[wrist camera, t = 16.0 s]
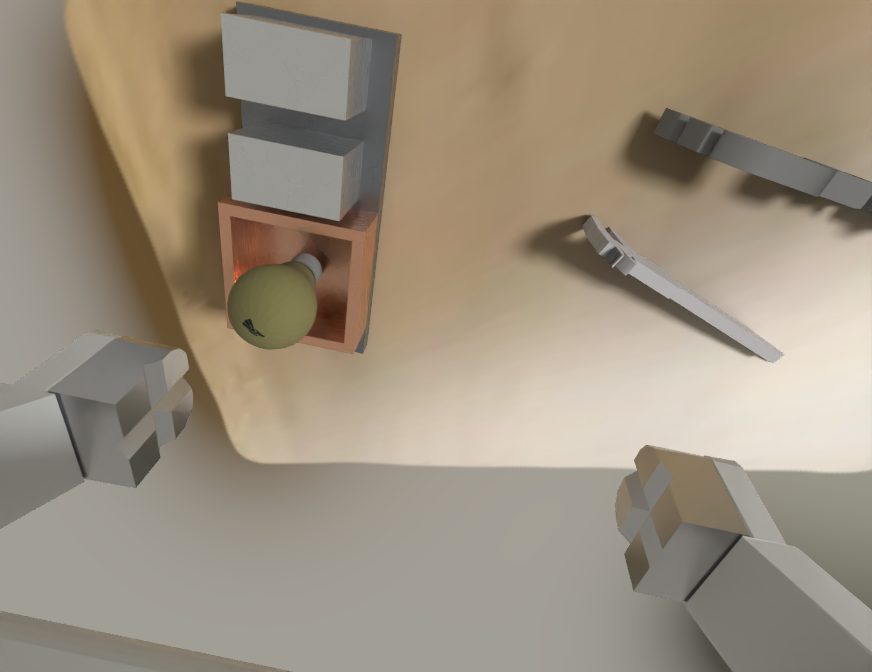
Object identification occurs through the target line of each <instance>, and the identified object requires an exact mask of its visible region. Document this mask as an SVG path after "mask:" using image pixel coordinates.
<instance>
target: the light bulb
mask: <svg viewBox="0 0 872 672" xmlns="http://www.w3.org/2000/svg"><path fill="white" fill-rule="evenodd" d="M321 274H322V267H321V264H320V262H319V261H318V260H317V259H316V258H315V257H314V256H312V255H310V254H307V253H301V254H298V255H296V256H295V257H294V258H293V259H292V260H291V261H290V262H285V263H282V264H264V265H260V266H257V267H254V268H252V269H250V270H248V271H246V272H245V273H244V274H242V275H241V276H240V277H239V278H238V279H237V280H236V282H235V283H234V285H233V286H232V288H231V291H230V293H229V296H228V302H227V311H228V317H229V320H230V323H231V325H232V327H233V328H234V330H235V331H236V332H237V334H238V335H239V336H240V337H241V338H242V339H244V340H245V341H246V342H248V343H250V344H252V345H254V346H256V347H259V348H263V349H281V348H286V347H288V346H291V345H293V344H295V343H297V342H298V341H300V340H301V339H302V338H303V337H304V336H305V335H306V334H307V333H308V332H309V331H310V329H311V327H312V325H313V323H314V321H315V317H316V312H317V300H316V294H315V284H316V282H317V280H318V279H319V277H320V276H321Z"/></svg>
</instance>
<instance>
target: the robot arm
mask: <svg viewBox="0 0 872 672" xmlns="http://www.w3.org/2000/svg"><path fill="white" fill-rule="evenodd" d="M188 369H189V366H188V361H187V355H186V353H185V352H184V351H182V350H181V349H179V348H175V347H170V346H166V345H162V344H157V343H153V342H149V341H144V340H140V339H136V338H131V337H127V336H120V335H116V334H111V333H107V332H103V331H98V330H97V331H90V332H86V333H85V334H84V335H82V336H80V337H79V338H78V339H76V340H75V341H73V342H72V343H71V344H69V345H68V346H66V347H65V348H63V349H62V350H61V351H59V352H58V353H56V354H55V355H53V356H52V357H51V358H49V359H48V360H46V361H45V362H44V363H42V364H41V365H39V366H38V367H36V368H35V369H34V370H32V371H31V372H29V373H28V374H26V375H25V376H24V377H22V378H21V379H20V380H18V381H17V382H15V383H14V384H12V385H9V384H4V383H0V529H1V528H3V527H4V526H6V525H8V524H10V523H11V522H13V521H15V520H17V519H18V518H20V517H22V516H24V515H26V514H27V513H29V512H31V511H33V510H35V509H36V508H38V507H40V506H42V505H44V504H45V503H47V502H49V501H50V500H52V499H54V498H56V497H58V496H59V495H61V494H63V493H65V492H67V491H69V490H70V489H72V488H74V487H76V486H77V485H79V484H81V483H83V482H84V479H88V480H94V481H100V482H106V483H111V484H116V485H122V486H127V487H133V488H136V487H137V486H138V485H139V484H140V482H141V481H142V480H143V479H144V477H145V476H146V475H147V474H148V473H149V471H150V470H151V469H152V468H153V467H154V465H155V464H156V463H157V462H158V460H159V459H160V448H159V447H160V446H162V445H164V444H166V443H168V442H170V441H173V440H175V439H176V438H177V437H178V435H179V434H180V433H181V432H182V430H183V429H184V428H185V426H186V424H187V421H188V419H189V416H190V414H191V411H192V404H193V395H192V388H191V387H190V386H189V385H188V383H187V382H186V381H185V380H184V379H183V377H182V376H183V375H184V374H185V372H186V371H187V370H188ZM634 461H635V465H636V468H637V471H636V472H634V473H632V474H630V475H628V476H626V477H625V478H624V479H623V481H622V483H621V485H620V487H619V489H618V492H617V498H616V504H615V512H616V520H617V525H618V530H619V531H620V533H621V534H622V535H623V536H624V537H625V538H626V540H627V541H628V542H629V543H630V545H629V547H628V548H627V550H626V552H625V553H624V555H625V559H626V563H627V567H628V571H629V575H630V579H631V582H632V587H633V591H635V592H639V593H643V594H648V595H652V596H656V597H660V598H665V599H669V600H673V601H677V602H682V603H686V604H685V605H684V606H685V608H686V609H687V610H688V612H689V613H690V614H691V615H692V617H693V619H694V620H695V621H696V623H697V624H698V625H699V627H700V628H701V629H702V631H703V632H704V633H705V635H706V636H707V637H708V639H709V640H710V642H711V643H712V644H713V646H714V647H715V648H716V650H717V651H718V652H719V654H720V655H721V656H722V658H723V659H724V661H725V662H726V663H727V665H728V666H729V667H730V669H731V670H732V671H733V672H872V610H870V609H869V608H868V607H867V606H866V605H864V604H863V603H862V602H861V601H860V600H859V599H857V598H856V597H855V596H854V595H852V594H851V593H850V592H849V591H848V590H847V589H846V588H844V587H843V586H842V585H841V584H840V583H838V582H837V581H836V580H835V579H834V578H833V577H831V576H830V575H829V574H828V573H826V572H825V571H824V570H823V569H822V568H821V567H820V566H818V565H817V564H816V563H815V562H814V561H812V560H811V559H810V558H809V557H808V556H807V555H805V554H804V553H803V552H802V551H801V550H799V549H798V548H797V547H794V546H790V545H786V543H785V541H784V539H783V538H782V536H781V534H780V533H779V531H778V529H777V527H776V526H775V524H774V522H773V520H772V518H771V517H770V515H769V514H768V511H767V510H766V508H765V506H764V504H763V503H762V501H761V499H760V497H759V496H758V494H757V492H756V490H755V489H754V487H753V485H752V483H751V482H750V480H749V478H748V476H747V475H746V473H745V471H744V469H743V468H742V467H741V466H740V465H739V464H738V463H736V462H735V461H731V460H726V459H720V458H715V457H709V456H700V455H696V454H691V453H686V452H681V451H676V450H671V449H666V448H661V447H656V446H650V445H646V446H644V447H643V448H642V449H641V450H640V451H639V453H638V454H637V456H636V458H635V459H634ZM0 672H291V671H286V670H281V669H276V668H272V667H267V666H262V665H257V664H253V663H248V662H243V661H238V660H233V659H229V658H224V657H219V656H214V655H210V654H205V653H200V652H195V651H190V650H185V649H181V648H176V647H171V646H166V645H161V644H157V643H152V642H147V641H142V640H138V639H133V638H128V637H123V636H119V635H113V634H109V633H104V632H99V631H94V630H90V629H85V628H80V627H75V626H71V625H66V624H61V623H56V622H51V621H46V620H42V619H37V618H32V617H28V616H23V615H17V614H13V613H8V612H4V611H0Z"/></svg>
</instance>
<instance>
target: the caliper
mask: <svg viewBox="0 0 872 672" xmlns="http://www.w3.org/2000/svg"><path fill="white" fill-rule="evenodd" d="M582 227H583V229H584V232H585V234H586V236H587V238H588V240H589V241H590V243H591V244H592V245H593V247H594V248H595V249H596V251H597V252H598V254H600V255H601V256H603V257H604V258H605V259H606V260H607V261H608V263H609V264H610V266H611V267H614V266H616V267H617V268H618V269H619V270H620V271H621V272H622V273H623V274H624V275H625V276H626V275H627V274H628V273H629V274H630V275H632V276H633V277H635V278H636V279H638V280H640V281H641V282H643V283H644V284H646V285H648V286H649V287H651V288H652V289H654V290H655V291H657V292H659V293H660V294H662V295H663V296H665V297H666V298H668V299H669V298H670V299H672V300H674V301H675V302H677V303H678V304H680V305H681V306H683V307H684V308H686V309H688V310H689V311H691V312H692V313H694V314H695V315H697V316H698V317H700V318H702V319H703V320H705V321H706V322H708V323H709V324H711V325H712V326H714V327H716V328H717V329H719V330H720V331H722V332H723V333H725V334H726V335H728V336H730V337H731V338H733V339H734V340H736V341H737V342H739V343H740V344H742V345H744V346H745V347H747V348H748V349H750V350H751V351H753V352H754V353H756V354H758V355H759V356H761V357H762V358H764V359H765V360H767V361H768V362H770V361H771V362H773V363H774V362H776V361H777V360H778V359H780V358H781V357H782V356H784V354H783V353H782V352H780V351H779V350H777V349H776V348H774V347H773V346H772V345H771V344H770V343H768V342H767V341H765V340H764V339H763V338H761V337H760V336H758V335H757V334H756V333H754V332H753V331H751V330H750V329H748V328H747V327H745V326H744V325H742V324H741V323H739V322H738V321H736V320H735V319H733V318H731V317H730V316H728V315H727V314H725V313H724V312H722V311H721V310H719V309H718V308H716V307H715V306H713V305H712V304H710V303H709V302H707V301H706V300H704V299H703V298H701V297H700V296H698V295H697V294H696V293H694V292H693V291H691V290H690V289H688V288H687V287H685V286H684V285H682V284H681V283H679V282H678V281H676V280H675V279H673V278H672V277H670V276H669V275H668V274H667V273H666V272H665V271H664V270H663V269H662V268H660V267H658V266H657V265H655V264H654V263H652V262H651V261H650V260H648V259H646V258H644V257H643V256H640V255H639V254H637V253H636V252H634V251H633V249H632V248H631V247H630V246H629V245H628V244H627V243H626V242H625V241H624V240H623V239H622V238H621V237H620V236H619V235H618V234H617V233H616V232H615V231H614V230H613V229H611V228H610V227H609V228H608V229H607V230H605V228H604V227H603V226H602V225H601V224H600V222H599V221H598V220H597V218H596V217H594V216H593V215H591V216H590V217H589V218H588V220H587V221H586V222H585V223H584V224H583V225H582Z"/></svg>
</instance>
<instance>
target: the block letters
mask: <svg viewBox="0 0 872 672" xmlns="http://www.w3.org/2000/svg"><path fill="white" fill-rule="evenodd" d="M653 134H656V135H658V136H660V137H662V138H665V139H667V140H670V141H672V142H675V143H676V144H679V145H681V146H683V147H686V148H688V149H690V150H693V151H695V152H698V153H700V154H703V155H706V156H709V157H710V158H712V159H715V160H717V161H720V162H722V163H725V164H727V165H730V166H732V167H735V168H738V169H740V170H743V171H746V172H748V173H751V174H754V175H757V176H760V177H762V178H765V179H768V180H771V181H774V182H777V183H779V184H782V185H785V186H788V187H791V188H793V189H796V190H799V191H802V192H804V193H807V194H810V195H812V196H815V197H818V196H821V197H824V198H826V199H829V200H832V201H835V202H838V203H840V204H843V205H846V206H849V207H852V208H854V209H857V208H858V209H863V210H866V211H868V212H870V213H872V182H870V181H867V180H864V179H862V178H859V177H856V176H854V175H851V174H848V173H845V172H842V171H840V170H837V169H834V168H832V167H829V166H826V165H823V164H820V163H818V162H815V161H812V160H809V159H807V158H801V157H799V156H796V155H793V154H791V153H788V152H785V151H783V150H780V149H777V148H774V147H772V146H769V145H766V144H764V143H761V142H758V141H756V140H753V139H750V138H748V137H745V136H742V135H739V134H737V133H734V132H731V131H728V130H726V129H723V128H720V127H717V126H715V125H712V124H709V123H706V122H703V121H701V120H698V119H695V118H692V117H690V116H687V115H684V114H681V113H679V112H676V111H673V110H670V109H668V108H666V109H665V111H664V113H663V115H662V117H661V119H660V121H659V123H658V125H657V127H656V129H655V131H654V132H653Z"/></svg>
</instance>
